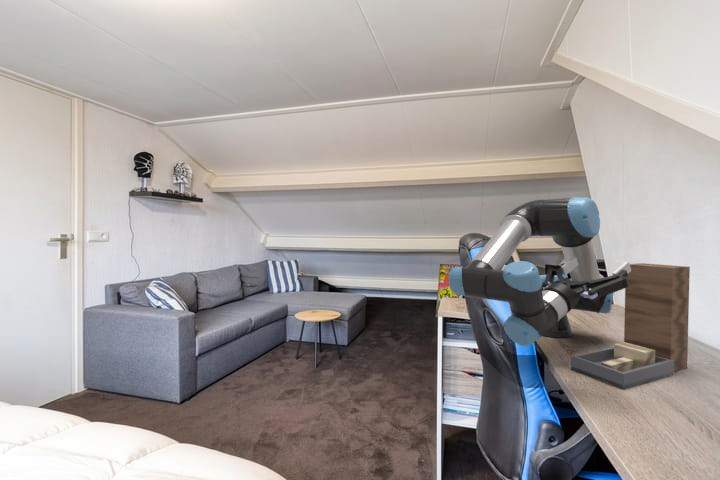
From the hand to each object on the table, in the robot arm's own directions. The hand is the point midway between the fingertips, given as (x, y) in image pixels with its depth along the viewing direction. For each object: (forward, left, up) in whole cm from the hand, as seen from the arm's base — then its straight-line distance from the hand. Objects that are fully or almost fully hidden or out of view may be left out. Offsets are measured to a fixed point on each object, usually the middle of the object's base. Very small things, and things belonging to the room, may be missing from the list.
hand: (600, 263), depth 96 cm
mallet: (-7, +5, -30) cm, 32 cm away
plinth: (-21, +13, -31) cm, 40 cm away
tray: (-7, +5, -31) cm, 33 cm away
